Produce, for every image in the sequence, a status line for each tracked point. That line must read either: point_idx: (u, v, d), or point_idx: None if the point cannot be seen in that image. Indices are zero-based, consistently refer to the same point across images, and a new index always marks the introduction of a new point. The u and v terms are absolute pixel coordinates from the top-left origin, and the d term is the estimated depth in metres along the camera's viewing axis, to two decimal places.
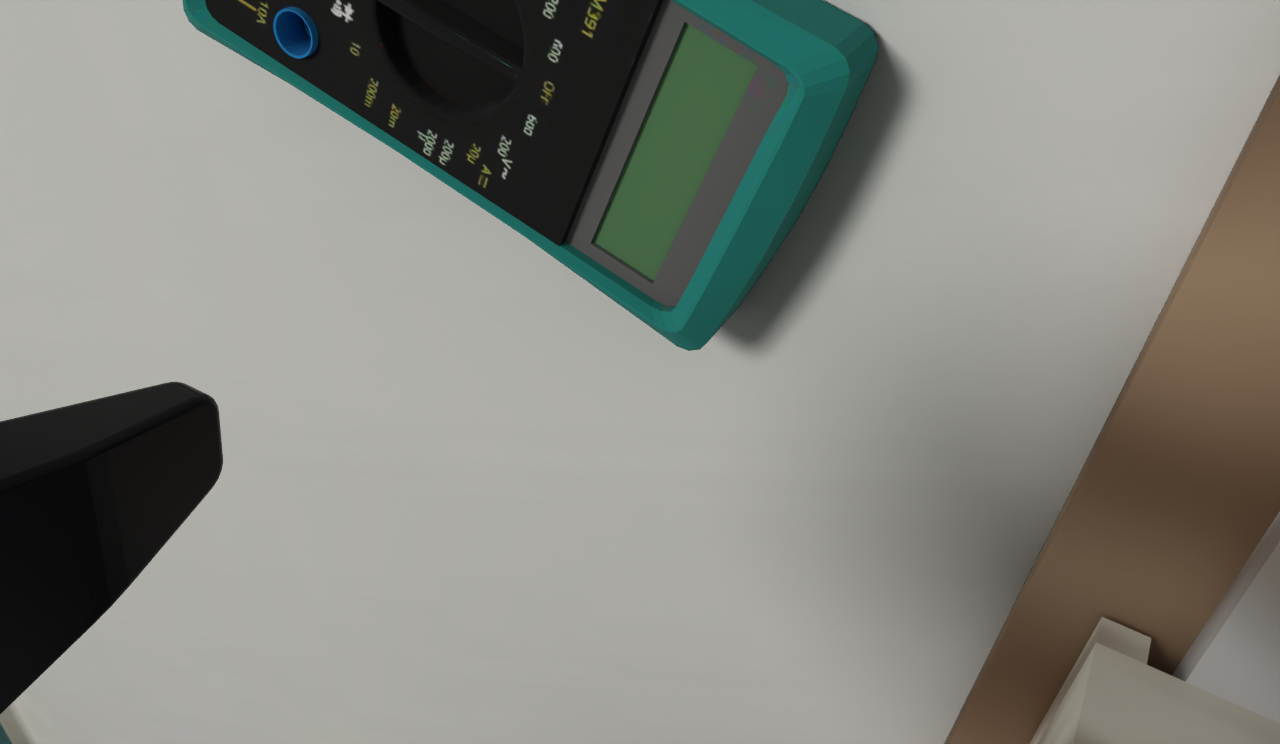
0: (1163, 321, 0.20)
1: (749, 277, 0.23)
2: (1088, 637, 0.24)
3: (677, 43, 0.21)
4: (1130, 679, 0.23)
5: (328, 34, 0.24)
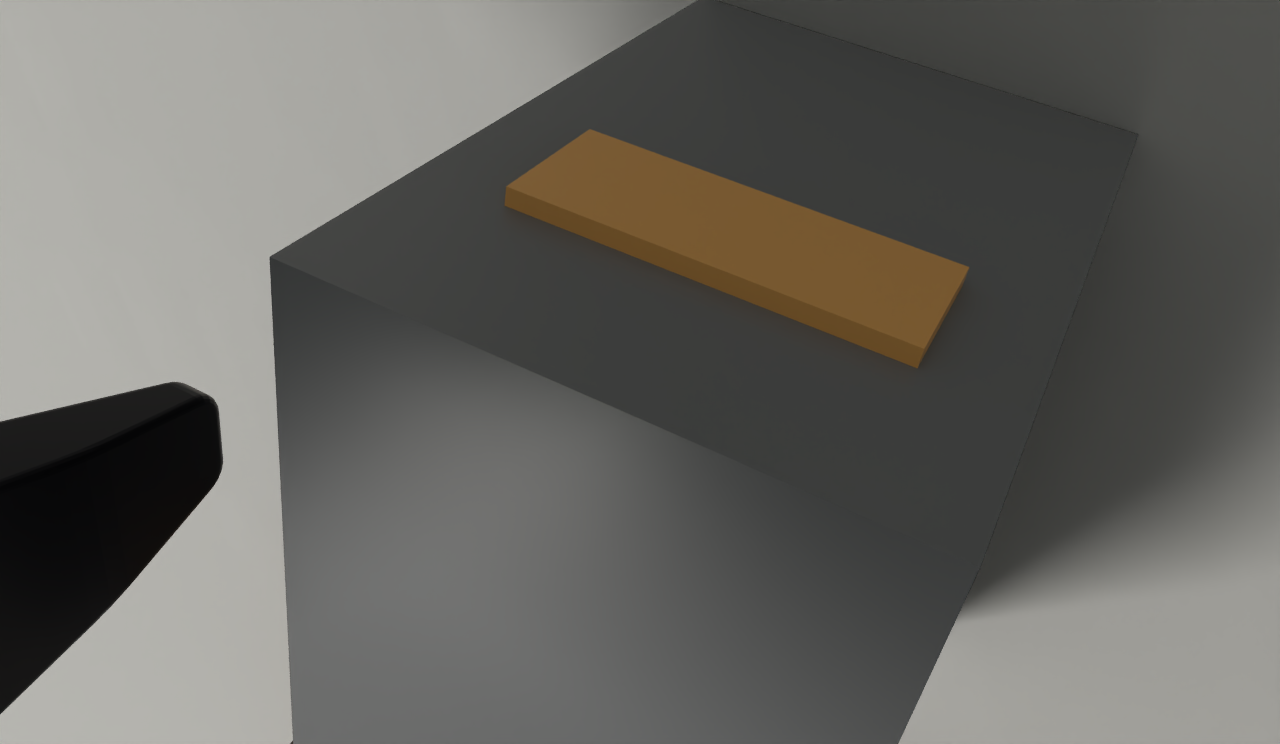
0: None
1: None
2: None
3: None
4: None
5: None
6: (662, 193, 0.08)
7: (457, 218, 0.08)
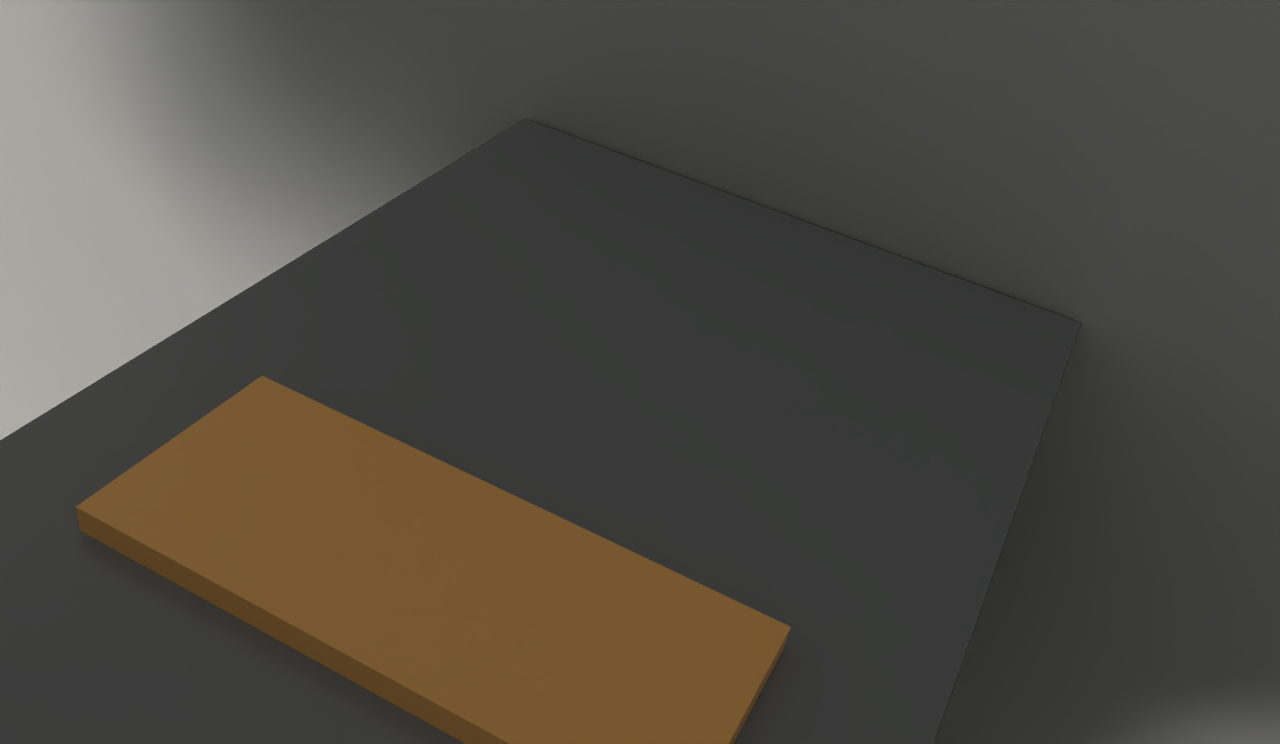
0: None
1: None
2: None
3: None
4: None
5: None
6: (331, 500, 0.05)
7: None
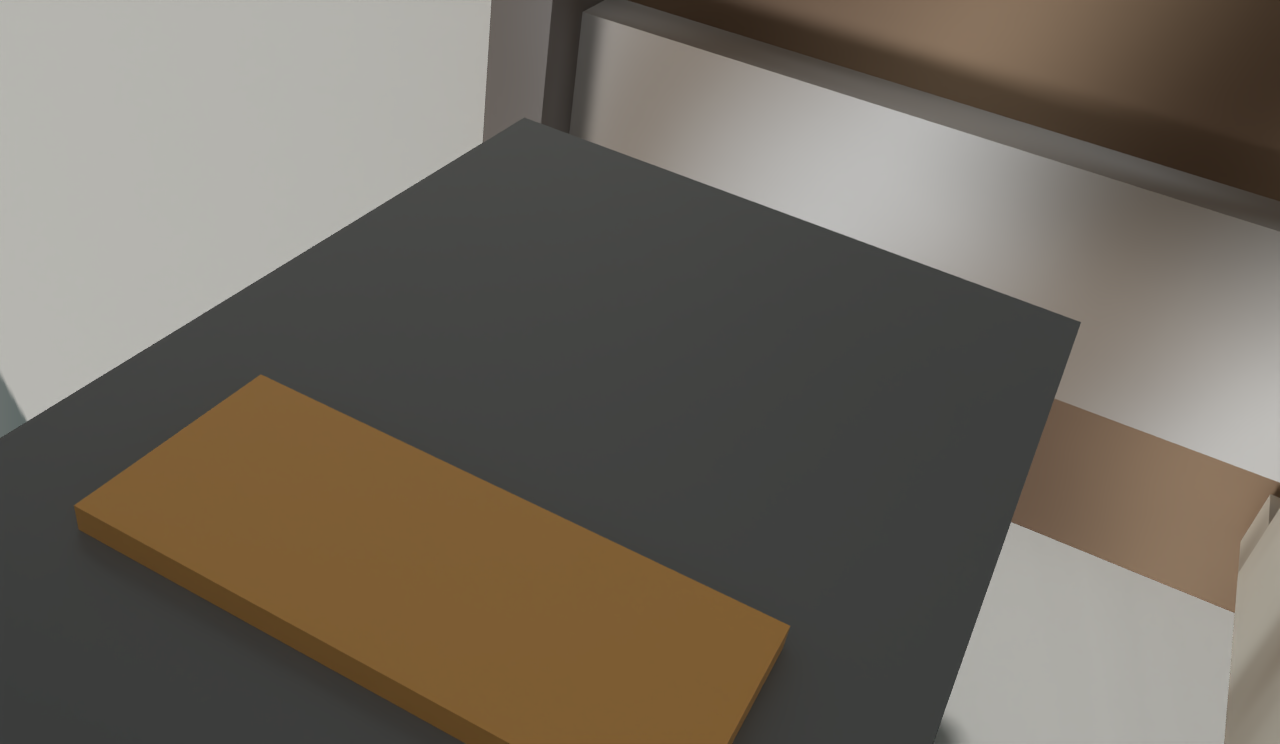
0: None
1: None
2: None
3: None
4: (1259, 562, 0.17)
5: None
6: (330, 500, 0.05)
7: None
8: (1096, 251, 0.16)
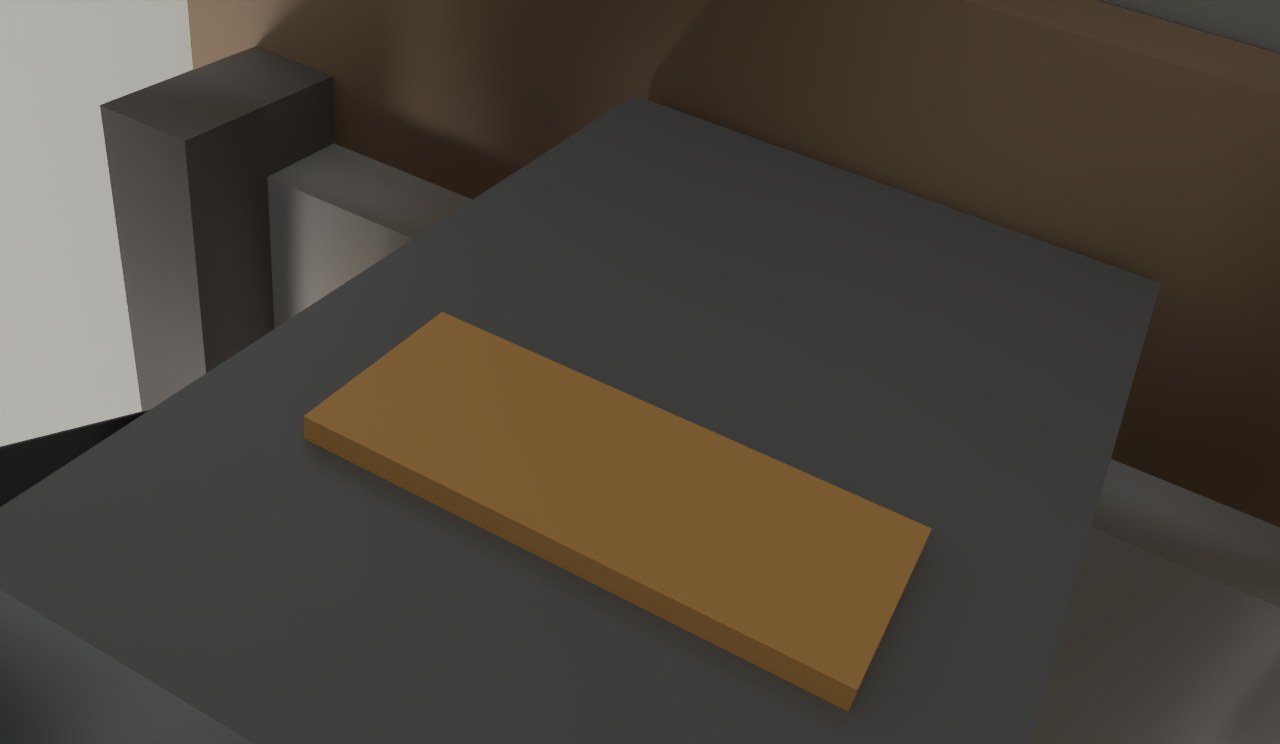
0: None
1: None
2: None
3: None
4: None
5: None
6: (522, 415, 0.06)
7: (232, 464, 0.06)
8: None
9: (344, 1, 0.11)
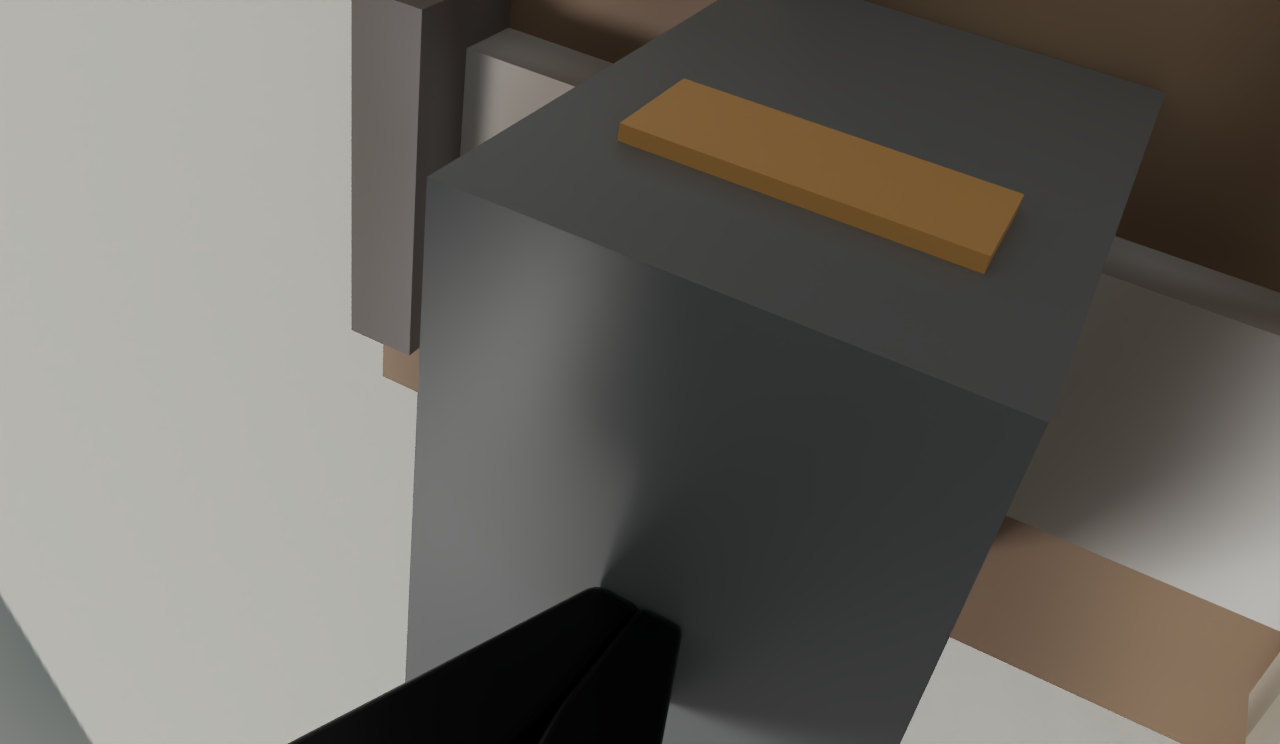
0: None
1: None
2: None
3: None
4: (1272, 735, 0.14)
5: None
6: (754, 130, 0.09)
7: (578, 149, 0.09)
8: (1078, 357, 0.13)
9: None
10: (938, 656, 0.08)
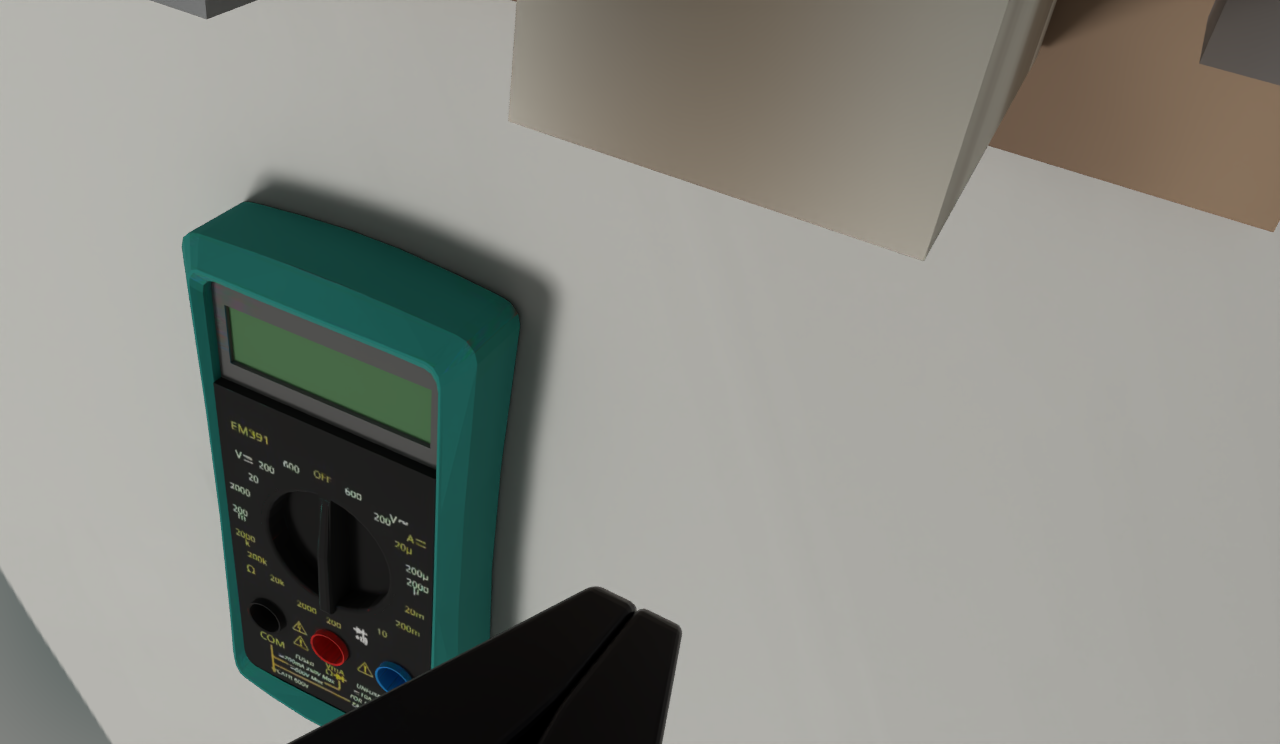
0: None
1: (369, 297, 0.23)
2: None
3: (251, 368, 0.26)
4: None
5: (385, 652, 0.29)
6: None
7: None
8: None
9: None
10: None
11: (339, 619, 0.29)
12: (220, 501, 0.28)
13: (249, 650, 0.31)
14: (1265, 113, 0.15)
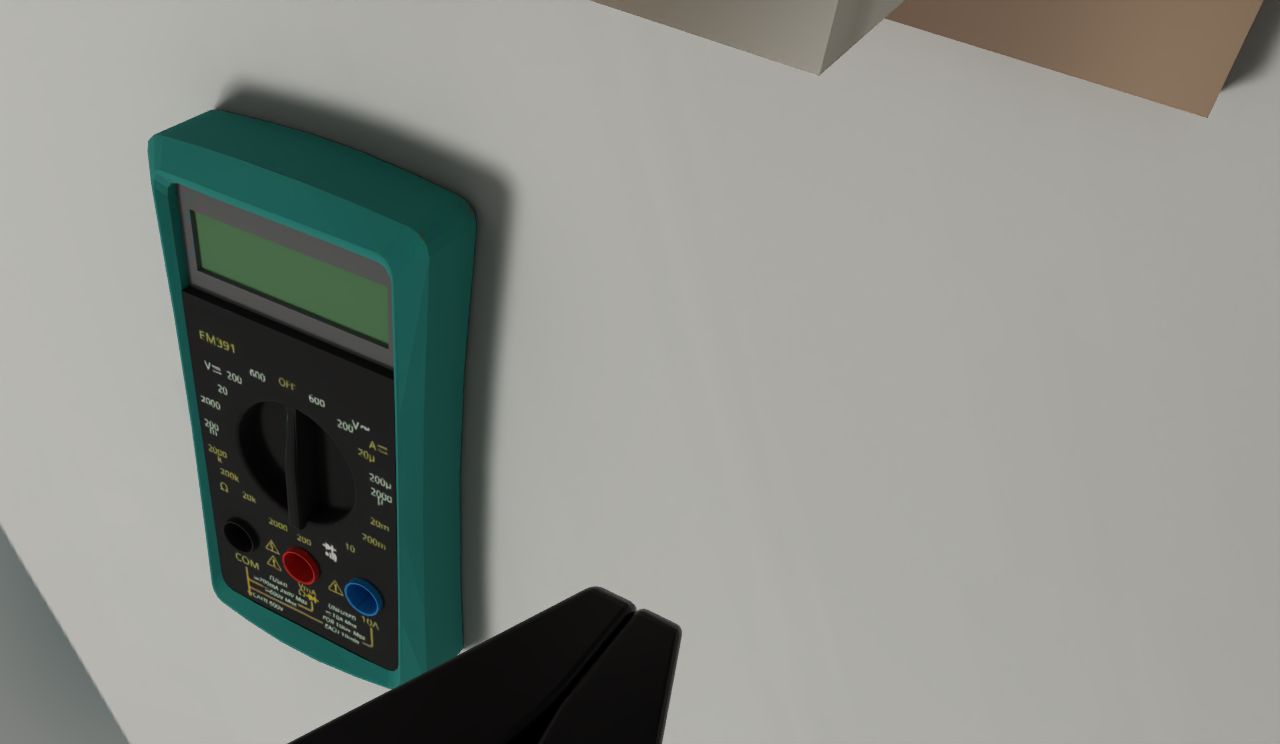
0: None
1: (324, 192, 0.23)
2: None
3: (217, 275, 0.26)
4: None
5: (354, 569, 0.29)
6: None
7: None
8: None
9: None
10: None
11: (309, 535, 0.29)
12: (192, 415, 0.29)
13: (226, 573, 0.32)
14: None
